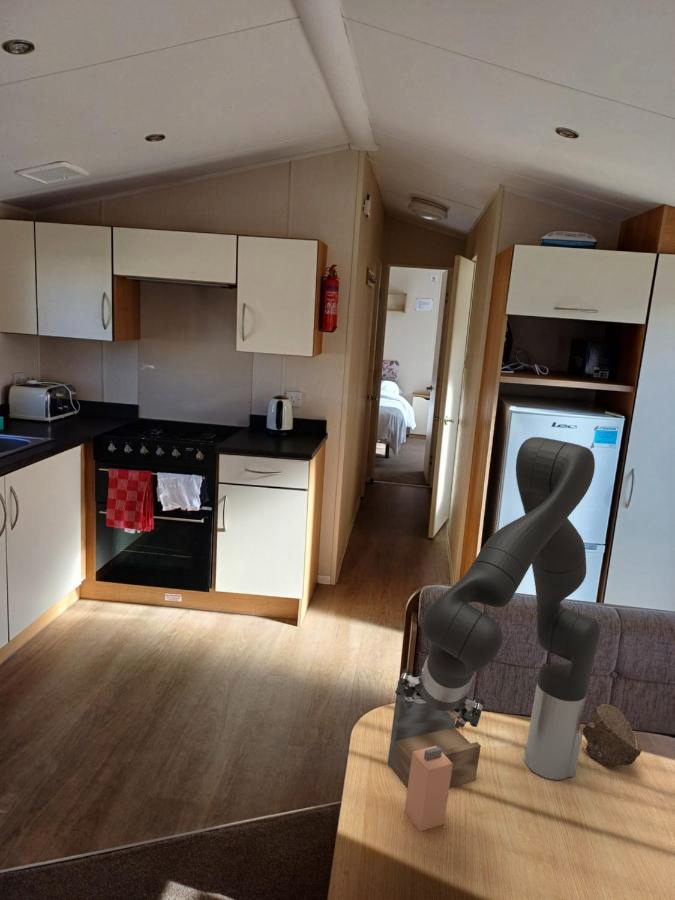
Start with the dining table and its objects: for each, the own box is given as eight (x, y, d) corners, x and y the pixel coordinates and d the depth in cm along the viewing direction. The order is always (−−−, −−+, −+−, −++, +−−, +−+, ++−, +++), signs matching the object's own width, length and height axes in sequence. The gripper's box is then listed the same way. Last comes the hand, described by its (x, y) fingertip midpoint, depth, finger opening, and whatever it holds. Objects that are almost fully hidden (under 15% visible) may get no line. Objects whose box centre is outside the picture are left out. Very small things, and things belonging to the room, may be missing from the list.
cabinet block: (427, 804, 118) (437, 738, 116) (443, 824, 114) (453, 756, 111) (404, 810, 116) (413, 744, 114) (419, 831, 112) (429, 762, 109)
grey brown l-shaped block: (446, 748, 135) (457, 669, 131) (475, 780, 126) (488, 696, 122) (387, 763, 128) (398, 680, 125) (414, 797, 120) (426, 709, 116)
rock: (654, 759, 130) (624, 738, 127) (614, 787, 133) (584, 767, 129) (623, 709, 141) (596, 689, 138) (587, 737, 144) (559, 717, 140)
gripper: (497, 673, 101) (479, 708, 114) (410, 638, 105) (402, 677, 117) (485, 718, 97) (467, 750, 109) (394, 681, 100) (388, 716, 113)
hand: (434, 712), depth 113 cm, fingers open, 8 cm apart
